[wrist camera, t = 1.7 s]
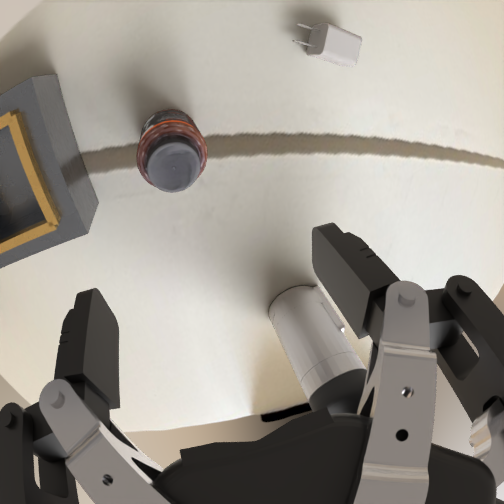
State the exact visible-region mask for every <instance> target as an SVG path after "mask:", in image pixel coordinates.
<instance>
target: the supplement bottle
mask: <svg viewBox="0 0 504 504" xmlns="http://www.w3.org/2000/svg"><path fill="white" fill-rule="evenodd" d="M206 162H207V147H206V143H205V140H204V138H203V136H202V135H201V133H200V131H199V130H198V128H197V126H196V125H195V123H194V122H193V120H192V119H191V118H190V117H189V116H188V115H187V114H185V113H184V112H182V111H178V110H173V109H168V110H162V111H160V112H157V113H156V114H154V115H153V116H152V117H151V118H149V120H148V121H147V122H146V124H145V125H144V127H143V130H142V133H141V137H140V141H139V145H138V150H137V165H138V169H139V171H140V173H141V175H142V176H143V178H144V179H145V180H146V181H147V182H148V183H149V184H151V185H153V186H154V187H157V188H158V189H160V190H162V191H165V192H171V193H172V192H179V191H183V190H185V189H186V188H188V187H190V186H191V185H192V184H193V183H194V182H195V180H196V179H197V178H198V177H199V176H200V175H201V173H202V172H203V170H204V168H205V165H206Z"/></svg>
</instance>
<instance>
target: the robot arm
mask: <svg viewBox="0 0 504 504" xmlns="http://www.w3.org/2000/svg"><path fill="white" fill-rule="evenodd" d="M312 263H313V268H314V271H315V273H316V275H317V277H318V278H319V280H320V281H321V283H322V284H323V286H324V287H325V289H326V290H327V292H328V293H329V295H330V296H331V298H332V299H333V301H334V302H335V304H336V305H337V307H338V308H339V310H340V311H341V313H342V314H343V316H344V317H345V319H346V320H347V322H348V323H349V325H350V326H351V328H352V329H353V331H354V332H355V334H356V336H357V337H358V339H361V338H363V337H365V336H368V335H369V336H370V337H371V339H372V340H373V341H372V344H371V351H370V357H369V363H368V369H367V370H366V368H365V366H364V365H363V363H362V361H361V360H360V358H359V357H358V355H357V354H356V352H355V350H354V349H353V347H352V346H351V344H350V342H349V341H348V339H347V338H346V336H345V334H344V331H345V325H344V323H343V322H342V320H341V319H340V317H339V316H338V314H337V313H336V311H335V310H334V308H333V307H332V305H331V304H330V302H329V301H328V299H327V298H326V296H325V295H324V293H323V292H322V290H321V289H320V287H319V286H316V287H309V286H298V287H294V288H291V289H289V290H287V291H285V292H283V293H282V294H280V295H279V296H278V297H277V298H276V299H275V300H274V301H273V302H272V304H271V306H270V309H269V317H270V320H271V322H272V325H273V327H274V329H275V331H276V333H277V335H278V337H279V340H280V342H281V344H282V346H283V348H284V350H285V353H286V355H287V357H288V359H289V361H290V363H291V366H292V368H293V370H294V372H295V374H296V376H297V378H298V381H299V383H300V385H301V387H302V389H303V391H304V393H305V396H306V398H307V400H308V402H309V404H310V406H311V408H312V411H313V412H312V413H310V414H307V415H304V416H302V417H299V418H297V419H293V420H291V421H289V422H288V423H286V424H285V425H283V426H281V427H280V428H278V429H277V430H275V431H273V432H272V433H270V434H268V435H267V436H265V437H263V438H261V439H260V440H257V441H252V442H215V443H211V444H206V445H202V446H197V447H192V448H187V449H181V450H180V453H181V459H179V460H177V461H175V462H173V463H172V464H170V465H169V466H168V467H167V468H165V469H163V468H162V467H160V466H159V465H158V464H157V463H155V462H154V461H153V460H152V459H150V458H149V457H148V456H146V455H145V454H144V453H143V452H142V451H141V450H140V449H139V448H138V447H137V446H136V445H135V444H134V443H133V442H132V441H131V440H130V439H129V438H128V437H127V436H126V435H125V434H124V432H123V431H122V430H121V429H120V428H119V427H118V426H117V425H116V424H115V423H114V421H113V420H112V419H110V412H109V410H110V409H116V408H120V396H119V327H118V323H117V320H116V318H115V316H114V314H113V312H112V311H111V309H110V308H109V306H108V304H107V303H106V301H105V299H104V298H103V296H102V294H101V293H100V291H99V290H98V289H97V288H93V289H90V290H87V291H83V292H80V293H78V294H77V296H76V300H75V305H74V309H71V310H69V312H68V314H67V316H66V317H65V319H64V321H63V325H62V330H61V334H62V335H61V336H60V341H59V343H60V345H59V347H58V353H57V360H56V367H55V375H54V380H53V381H51V382H49V383H48V384H47V385H46V386H45V387H44V388H43V390H42V392H41V394H40V398H39V402H37V403H35V404H33V405H31V406H29V407H27V408H26V409H23V408H22V407H20V406H19V405H18V404H16V403H8V404H6V405H5V406H4V407H3V408H2V409H1V411H0V504H79V501H78V495H77V489H76V481H75V479H76V480H77V481H78V483H79V484H80V485H81V487H82V488H83V489H84V490H85V492H86V493H87V494H88V496H89V497H90V498H91V499H92V501H93V502H94V503H95V504H504V501H502V500H500V499H497V498H496V488H497V487H498V486H499V485H500V484H501V483H502V482H503V481H504V315H503V314H502V312H501V311H500V310H499V309H498V308H497V307H496V305H495V304H494V303H493V302H492V300H491V299H490V298H489V297H488V296H487V295H486V294H485V292H484V291H483V290H482V289H481V288H480V287H479V286H478V284H477V283H476V282H475V281H473V280H472V279H470V278H468V277H466V276H462V275H455V276H452V277H450V278H449V279H448V281H447V283H446V286H445V288H443V289H434V290H424V289H423V288H422V287H420V286H419V285H418V284H416V283H413V282H410V281H400V280H399V278H398V277H397V276H396V275H395V274H394V273H393V272H392V271H391V270H390V269H389V267H388V266H387V265H386V264H385V263H384V262H383V261H382V260H381V259H380V258H379V257H378V256H376V254H375V253H374V251H373V250H372V249H371V248H370V249H369V246H368V245H367V244H366V243H365V242H364V241H363V240H362V239H361V238H359V237H357V236H355V235H354V234H352V233H350V232H347V233H343V232H342V231H341V230H340V229H339V227H338V226H337V225H336V224H335V223H328V224H325V225H321V226H317V227H314V228H313V230H312ZM463 331H464V332H465V333H466V334H467V336H468V337H469V339H470V340H471V341H472V343H473V344H474V345H475V347H476V348H477V350H478V353H479V357H478V356H477V354H476V353H475V352H474V350H473V349H472V347H471V346H470V345H469V343H468V342H467V340H466V339H465V337H464V336H463V335H462V332H463ZM437 364H438V365H439V367H440V368H441V370H442V372H443V374H444V375H445V377H446V378H447V380H448V382H449V383H450V385H451V387H452V388H453V390H454V392H455V393H456V395H457V397H458V398H459V400H460V402H461V404H462V405H463V407H464V409H465V411H466V412H467V414H468V416H469V418H470V420H471V421H472V423H473V425H472V428H471V436H470V438H469V443H470V445H471V446H472V447H474V456H473V457H472V456H468V455H465V454H462V453H459V452H456V451H453V450H450V449H447V448H444V447H442V446H439V445H436V444H433V443H431V440H432V432H433V423H434V413H435V399H436V377H437ZM33 455H35V456H37V457H38V464H39V477H40V489H39V487H38V486H37V484H36V482H35V477H34V462H33V461H34V460H33Z"/></svg>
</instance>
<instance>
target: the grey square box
mask: <svg viewBox="0 0 504 504" xmlns="http://www.w3.org/2000/svg"><path fill="white" fill-rule="evenodd" d="M98 204H99V202H98V199H97V197H96V194H95V192H94V189H93V187H92V184H91V182H90V179H89V176H88V174H87V171H86V168H85V165H84V163H83V160H82V157H81V154H80V151H79V148H78V145H77V142H76V139H75V136H74V133H73V130H72V127H71V124H70V120H69V117H68V114H67V110H66V107H65V103H64V100H63V96H62V92H61V88H60V84H59V80H58V76H57V74H52V75H43V76H35V77H31V78H29V79H27V80H25V81H24V82H22V83H20V84H18V85H17V86H15V87H13V88H12V89H10V90H8V91H7V92H5V93H3V94H2V95H0V268H2V267H5V266H7V265H9V264H12V263H14V262H16V261H19V260H21V259H24V258H26V257H28V256H31V255H33V254H36V253H38V252H41V251H43V250H46V249H48V248H51V247H54V246H56V245H59V244H61V243H64V242H67V241H69V240H72V239H75V238H77V237H80V236H83V235H86V234H88V232H89V229H90V226H91V223H92V221H93V218H94V215H95V212H96V209H97V206H98Z"/></svg>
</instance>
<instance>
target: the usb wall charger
mask: <svg viewBox="0 0 504 504" xmlns="http://www.w3.org/2000/svg"><path fill="white" fill-rule="evenodd" d="M296 25H298V26H301V27H304V28H307V29H310V30H311V33H310V37H309V42H308V43H305V42H301V41H298V40H293V42H297V43H300V44H303V45H307V50H306V53H307V55H310V56H313V57H316V58H320V59H323V60H326V61H329V62H332V63H334V64H337V65H341V66H350V67H353V66H355V65H356V63H357V60H358V56H359V52H360V47H361V43H362V38H361V37H360V36H358V35H356V34H353V33H351V32H349V31H346V30H344V29H341V28H339V27H336V26H334V25H331V24H329V23H322V24H316V25H314V26H313V27H309V26H306V25H303V24H300V23H299V24H296Z"/></svg>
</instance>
